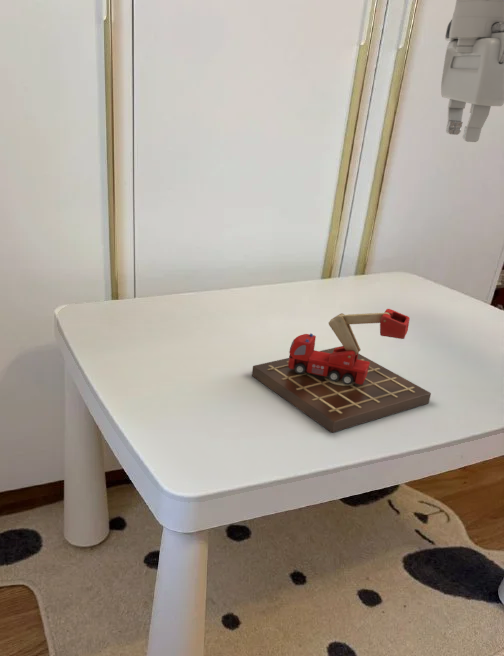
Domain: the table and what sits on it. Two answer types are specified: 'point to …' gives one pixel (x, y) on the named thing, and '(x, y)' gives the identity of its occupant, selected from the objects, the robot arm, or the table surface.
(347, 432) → the table surface
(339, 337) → the toy fire truck
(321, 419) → the board
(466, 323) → the table surface
